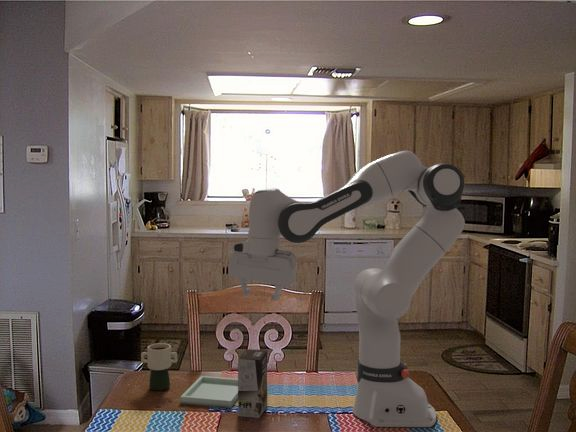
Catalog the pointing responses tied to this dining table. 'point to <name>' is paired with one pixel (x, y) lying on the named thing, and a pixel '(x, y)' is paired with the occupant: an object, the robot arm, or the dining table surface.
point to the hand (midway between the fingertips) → (260, 297)
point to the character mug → (159, 364)
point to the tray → (212, 392)
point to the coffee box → (252, 383)
